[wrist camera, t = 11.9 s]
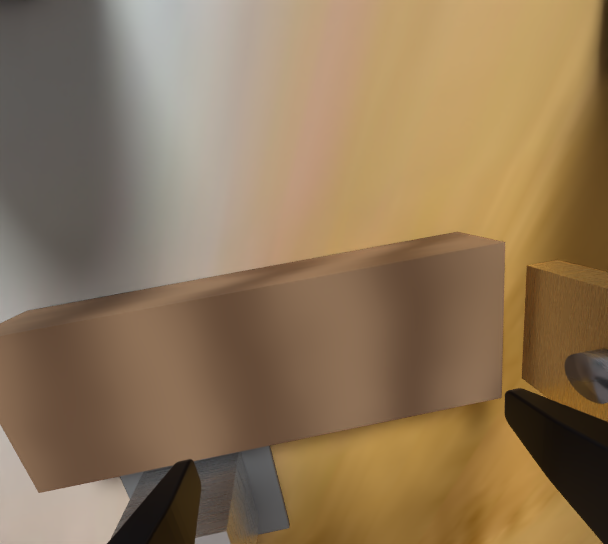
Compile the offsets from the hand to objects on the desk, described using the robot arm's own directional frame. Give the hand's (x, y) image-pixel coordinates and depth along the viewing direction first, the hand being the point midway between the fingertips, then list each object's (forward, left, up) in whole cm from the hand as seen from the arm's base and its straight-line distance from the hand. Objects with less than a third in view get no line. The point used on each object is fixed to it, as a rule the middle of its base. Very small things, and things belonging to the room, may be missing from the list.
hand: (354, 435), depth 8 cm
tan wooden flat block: (-8, 0, -3) cm, 9 cm away
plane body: (+3, 0, -7) cm, 7 cm away
